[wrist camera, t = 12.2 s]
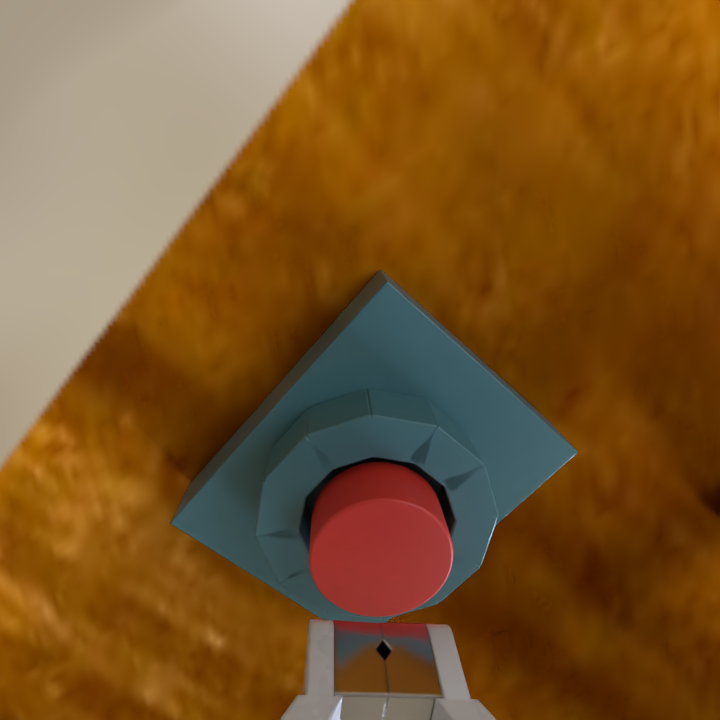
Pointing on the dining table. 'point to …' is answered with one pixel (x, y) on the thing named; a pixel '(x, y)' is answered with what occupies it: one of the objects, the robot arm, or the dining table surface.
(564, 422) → the dining table surface
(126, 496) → the dining table surface
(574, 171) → the dining table surface
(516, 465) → the button block
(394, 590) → the red button
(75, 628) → the dining table surface
